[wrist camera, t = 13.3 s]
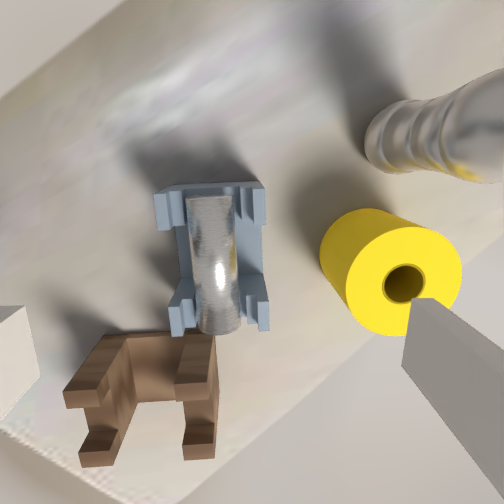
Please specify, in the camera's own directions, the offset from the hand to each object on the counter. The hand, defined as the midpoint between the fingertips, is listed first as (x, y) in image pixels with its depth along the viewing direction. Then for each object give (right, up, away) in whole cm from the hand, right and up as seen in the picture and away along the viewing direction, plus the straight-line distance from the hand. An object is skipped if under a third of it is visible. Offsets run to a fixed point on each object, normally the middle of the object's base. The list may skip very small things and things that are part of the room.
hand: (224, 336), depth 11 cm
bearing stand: (-10, -11, +29) cm, 32 cm away
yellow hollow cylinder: (+14, +3, +26) cm, 29 cm away
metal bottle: (+15, +15, +22) cm, 31 cm away
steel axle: (-2, +2, +20) cm, 20 cm away
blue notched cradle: (-3, +4, +25) cm, 25 cm away
